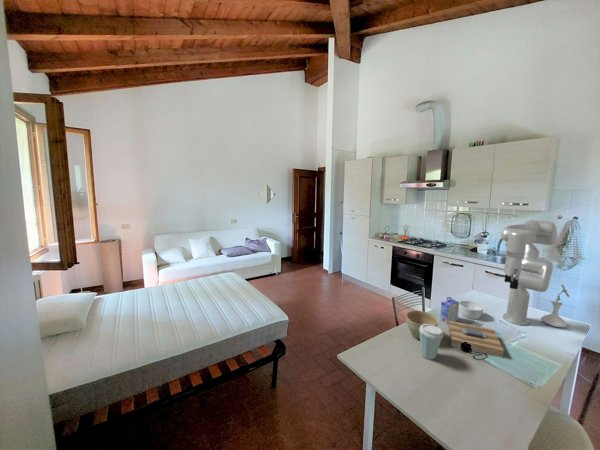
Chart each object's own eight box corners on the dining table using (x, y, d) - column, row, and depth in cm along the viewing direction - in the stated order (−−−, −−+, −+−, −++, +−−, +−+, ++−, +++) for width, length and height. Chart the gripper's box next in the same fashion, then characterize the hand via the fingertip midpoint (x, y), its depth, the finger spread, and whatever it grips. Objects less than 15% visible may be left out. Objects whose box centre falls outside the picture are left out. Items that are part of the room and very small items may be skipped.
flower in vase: (561, 331, 151) (569, 290, 147) (537, 321, 161) (543, 283, 157) (570, 325, 157) (578, 286, 153) (546, 316, 167) (553, 280, 163)
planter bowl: (398, 330, 151) (400, 312, 149) (421, 325, 156) (422, 308, 154) (419, 346, 136) (420, 327, 134) (443, 341, 141) (445, 322, 139)
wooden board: (448, 326, 155) (448, 320, 154) (492, 336, 146) (493, 329, 145) (451, 345, 137) (452, 338, 136) (502, 357, 128) (503, 350, 127)
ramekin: (487, 320, 162) (488, 310, 161) (465, 320, 162) (467, 310, 161) (473, 310, 175) (474, 300, 174) (453, 310, 175) (454, 300, 174)
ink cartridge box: (449, 316, 167) (452, 295, 165) (458, 320, 162) (460, 298, 160) (439, 319, 163) (441, 297, 161) (447, 324, 158) (449, 301, 156)
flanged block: (461, 335, 146) (462, 326, 145) (483, 339, 141) (484, 331, 141) (462, 339, 141) (463, 331, 140) (485, 345, 137) (486, 336, 136)
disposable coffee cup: (421, 346, 137) (424, 319, 134) (444, 355, 129) (447, 328, 126) (413, 355, 129) (415, 327, 127) (436, 366, 122) (439, 337, 119)
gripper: (502, 250, 147) (497, 278, 150) (511, 258, 131) (506, 289, 134) (518, 251, 144) (514, 280, 147) (530, 259, 128) (525, 292, 131)
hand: (510, 285), depth 140 cm, fingers open, 9 cm apart
